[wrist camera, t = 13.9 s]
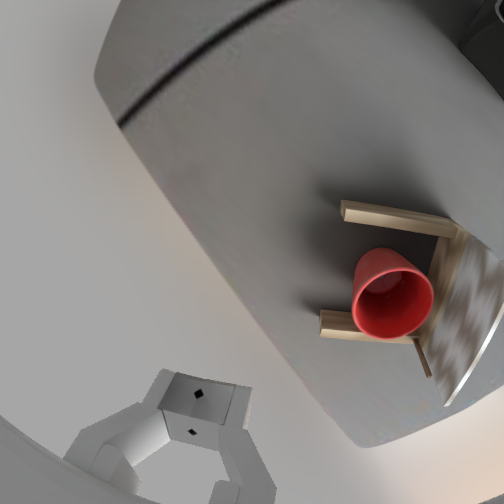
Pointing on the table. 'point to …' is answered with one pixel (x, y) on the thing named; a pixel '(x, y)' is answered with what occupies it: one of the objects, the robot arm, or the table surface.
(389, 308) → the flower pot
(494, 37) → the flower pot
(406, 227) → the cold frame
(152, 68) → the table surface
